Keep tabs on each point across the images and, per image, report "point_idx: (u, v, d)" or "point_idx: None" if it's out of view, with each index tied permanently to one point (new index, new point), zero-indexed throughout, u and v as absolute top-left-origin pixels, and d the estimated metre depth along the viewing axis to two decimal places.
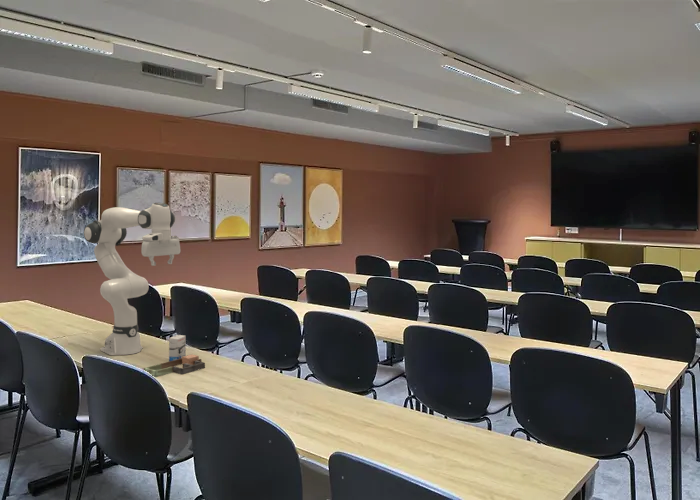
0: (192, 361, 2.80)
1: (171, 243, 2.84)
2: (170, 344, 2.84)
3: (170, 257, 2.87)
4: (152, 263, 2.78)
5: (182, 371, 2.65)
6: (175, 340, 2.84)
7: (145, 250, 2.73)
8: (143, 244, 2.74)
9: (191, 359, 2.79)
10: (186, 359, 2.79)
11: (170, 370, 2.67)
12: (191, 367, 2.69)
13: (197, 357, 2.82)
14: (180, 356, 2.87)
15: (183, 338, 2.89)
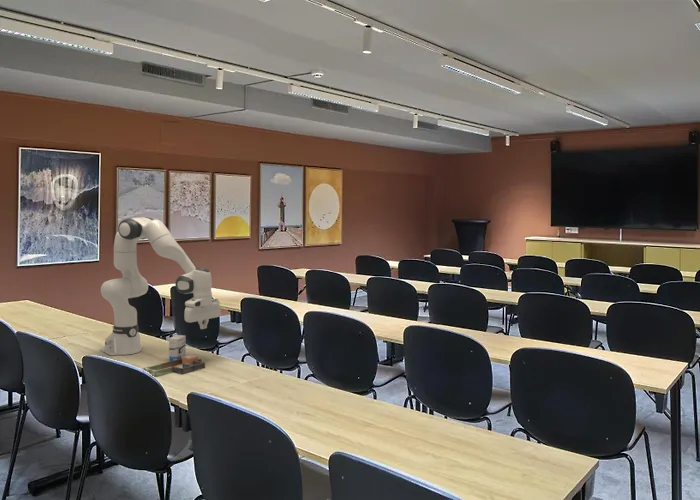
0: (192, 361, 2.80)
1: (212, 307, 2.89)
2: (170, 344, 2.84)
3: (205, 321, 2.88)
4: (201, 326, 2.86)
5: (182, 371, 2.65)
6: (175, 340, 2.84)
7: (188, 317, 2.78)
8: (186, 311, 2.79)
9: (191, 359, 2.79)
10: (186, 359, 2.79)
11: (170, 370, 2.67)
12: (191, 367, 2.69)
13: (197, 357, 2.82)
14: (180, 356, 2.87)
15: (183, 338, 2.89)
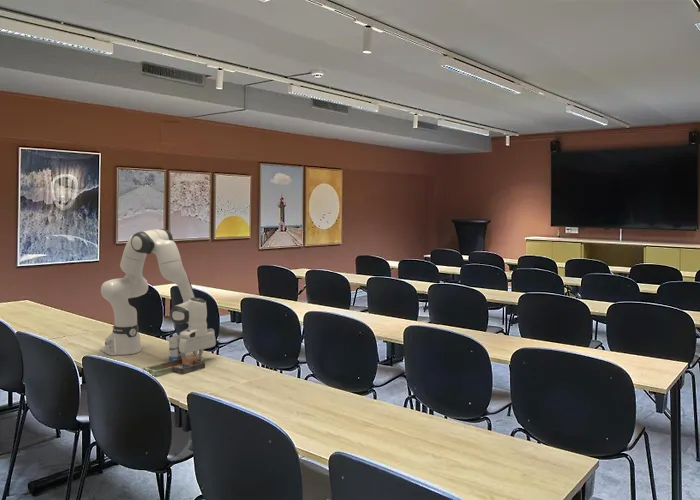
0: (192, 361, 2.80)
1: (207, 337, 2.87)
2: (170, 344, 2.84)
3: (199, 351, 2.87)
4: None
5: (182, 371, 2.65)
6: (175, 340, 2.84)
7: (183, 348, 2.76)
8: (181, 342, 2.77)
9: (191, 359, 2.79)
10: (186, 359, 2.79)
11: (170, 370, 2.67)
12: (191, 367, 2.69)
13: (197, 357, 2.82)
14: (180, 356, 2.87)
15: None
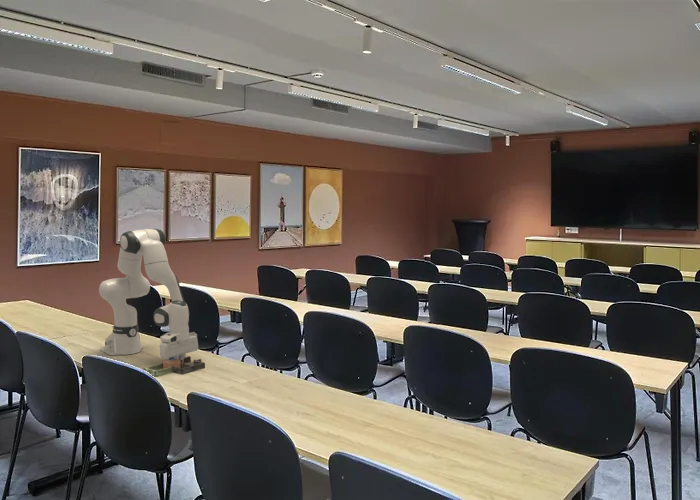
0: None
1: (189, 341, 2.78)
2: None
3: (181, 356, 2.78)
4: None
5: (182, 371, 2.65)
6: None
7: (163, 353, 2.67)
8: (161, 346, 2.68)
9: (173, 364, 2.70)
10: (167, 364, 2.69)
11: (170, 370, 2.67)
12: (191, 367, 2.69)
13: (179, 362, 2.73)
14: (180, 356, 2.87)
15: None
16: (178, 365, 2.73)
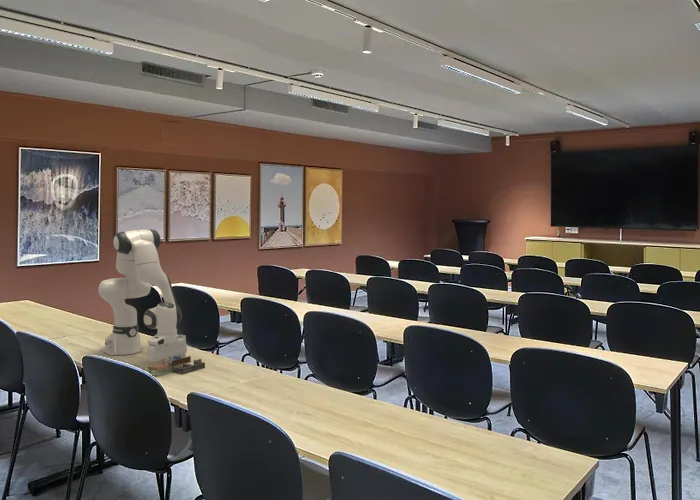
0: None
1: (177, 344, 2.73)
2: None
3: (169, 359, 2.72)
4: None
5: (182, 371, 2.65)
6: None
7: (150, 356, 2.62)
8: (148, 349, 2.63)
9: (160, 367, 2.64)
10: (155, 367, 2.64)
11: (170, 370, 2.67)
12: (191, 367, 2.69)
13: (167, 365, 2.67)
14: (180, 356, 2.87)
15: None
16: None
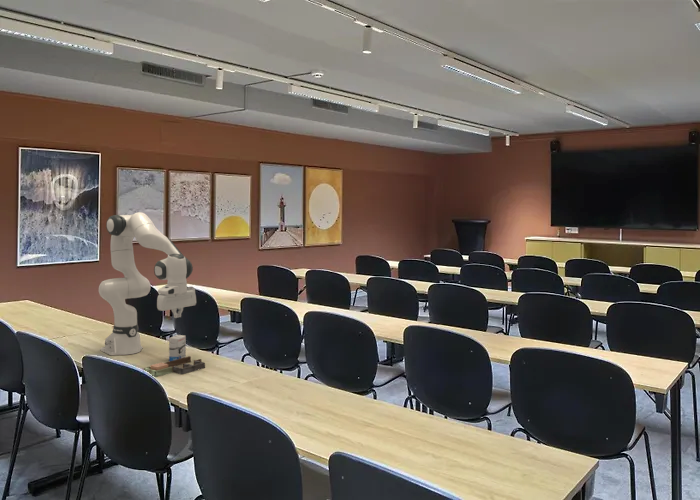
0: None
1: (187, 295, 2.76)
2: (170, 344, 2.84)
3: (179, 310, 2.76)
4: (175, 315, 2.73)
5: (182, 371, 2.65)
6: (175, 340, 2.84)
7: (161, 305, 2.65)
8: (159, 298, 2.66)
9: (160, 368, 2.64)
10: (155, 368, 2.64)
11: (170, 370, 2.67)
12: (191, 367, 2.69)
13: (167, 366, 2.67)
14: (180, 356, 2.87)
15: (183, 338, 2.89)
16: None
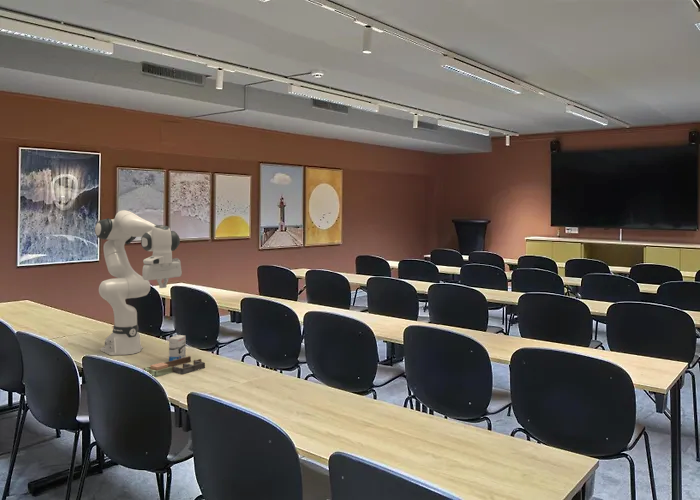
0: None
1: (172, 266, 2.81)
2: (170, 344, 2.84)
3: (164, 280, 2.81)
4: (160, 286, 2.78)
5: (182, 371, 2.65)
6: (175, 340, 2.84)
7: (146, 274, 2.70)
8: (144, 268, 2.71)
9: (160, 368, 2.64)
10: (154, 368, 2.64)
11: (170, 370, 2.67)
12: (191, 367, 2.69)
13: (167, 366, 2.67)
14: (180, 356, 2.87)
15: (183, 338, 2.89)
16: None
